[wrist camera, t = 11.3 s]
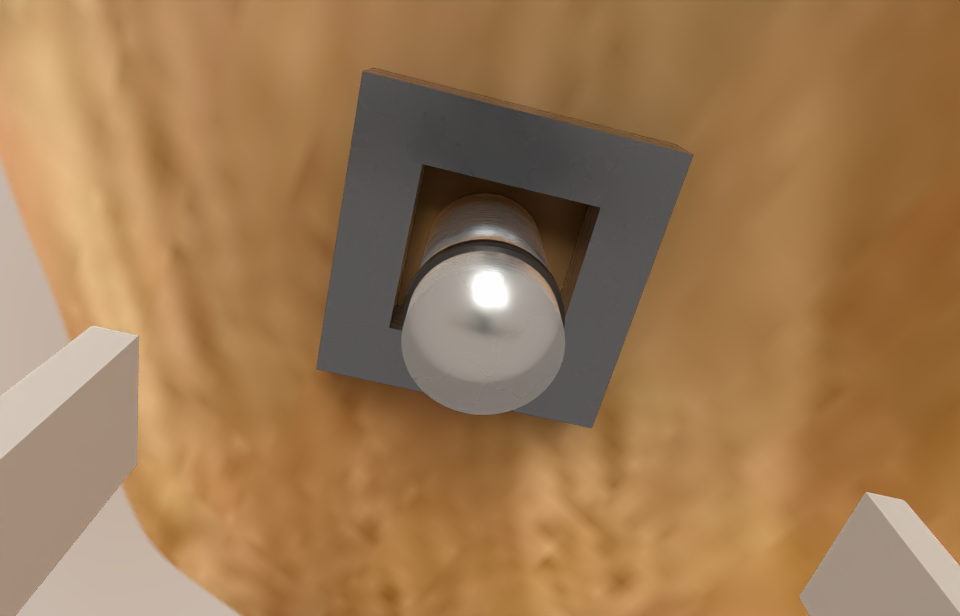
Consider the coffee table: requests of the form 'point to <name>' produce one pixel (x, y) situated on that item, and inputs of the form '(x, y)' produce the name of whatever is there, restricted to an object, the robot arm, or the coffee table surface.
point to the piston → (483, 309)
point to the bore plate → (512, 161)
